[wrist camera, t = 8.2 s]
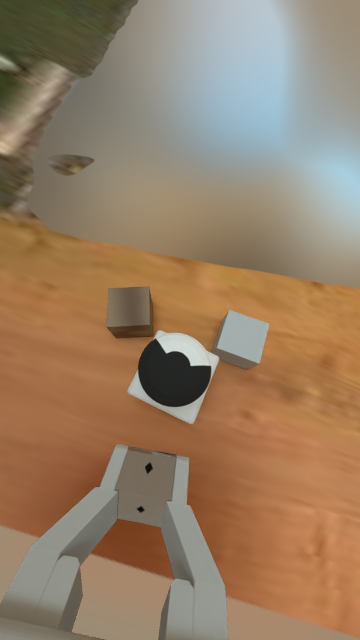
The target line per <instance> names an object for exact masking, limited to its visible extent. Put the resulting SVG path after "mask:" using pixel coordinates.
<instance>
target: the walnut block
mask: <svg viewBox="0 0 360 640" xmlns="http://www.w3.org/2000/svg"><path fill="white" fill-rule="evenodd" d="M106 327H107V328H108V329H109V331H110V332H111V333H112V334H113V335H114V336H115V337H116V338H131V337H150V336H153V308H152V299H151V294H150V289H149V287H130V288H108V303H107V325H106Z"/></svg>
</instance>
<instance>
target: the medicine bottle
mask: <svg viewBox="0 0 360 640" xmlns="http://www.w3.org/2000/svg"><path fill="white" fill-rule="evenodd" d="M218 362H219V357H218V356H217V355H215V354H212V353H210V352H208V351H206V350H205V348H204V347H203V346H202V345H201V343H199V342H198V341H197V340H196V339H194V338H193V337H191V336H189V335H186V334H181V333H166V332H164V331H161V330H159V331H158V332H157V333H156V335H155V337H154V339H153V341H151V342H150V343H149V344H148V345H147V347H146V348H145V349H144V351H143V352H142V355H141V357H140V360H139V365H138V370H137V372H136V374H135V376H134V378H133V380H132V382H131V384H130V386H129V388H128V390H127V391H128V393H129V394H130V395H132V396H134V397H136V398H138V399H140V400H142V401H144V402H146V403H148V404H150V405H152V406H154V407H156V408H158V409H160V410H162V411H164V412H166V413H168V414H170V415H172V416H174V417H176V418H178V419H180V420H182V421H184V422H186V423H189V424H193V423H194V422H195V419H196V417H197V414H198V412H199V409H200V407H201V404H202V402H203V399H204V397H205V394H206V392H207V389H208V387H209V384H210V382H211V379H212V377H213V374H214V372H215V369H216V367H217V364H218Z"/></svg>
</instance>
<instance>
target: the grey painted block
mask: <svg viewBox="0 0 360 640" xmlns="http://www.w3.org/2000/svg"><path fill="white" fill-rule="evenodd" d="M268 328H269V324H268V323H265V322H262V321H260V320H257V319H254V318H251V317H248V316H245V315H242V314H240V313H237V312H234V311H231V310H229V311H228V312H227V314H226V316H225V317H224V319H223V321H222V322H221V325H220V328H219V331H218V334H217V337H216V340H215V343H214V346H213V349H212V352H211V353H212V354H215V355H217V356H218V357H219V360H222V361H225V362H227V363H230V364H233V365H235V366H238V367H241V368H243V369H248V368H251V367H253V366H255V365H257V364H259V363H260V359H261V355H262V351H263V347H264V343H265V339H266V335H267V332H268Z"/></svg>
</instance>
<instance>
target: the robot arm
mask: <svg viewBox="0 0 360 640" xmlns="http://www.w3.org/2000/svg"><path fill="white" fill-rule="evenodd" d="M188 474H189V457H184V456H178V455H177V456H176V455H175V454H169V453H163V452H158V451H151V450H146V449H141V448H136V447H131V446H127V445H121V444H117V445H116V446H115V448H114V451H113V453H112V456H111V458H110V461H109V464H108V466H107V469H106V471H105V474H104V476H103V479H102V482H101V484H100V487H95V488H93V489H92V490H91V491H90V492H89V493H88V494H87V495H86V496H85V497H84V498H83V499H81V500H80V501H79V502H78V503H77V504H76V505H75V506H74V507H73V508H72V509H71V510H70V511H68V512H67V513H66V514H65V515H64V516H63V517H62V518H61V519H60V520H59V521H58V522H56V523H55V524H54V525H53V526H52V527H51V528H50V529H49V530H48V531H47V532H46V533H45V534H43V535H42V536H41V537H40V538H39V539H38V540H37V541H36V542H35V543H34V544H33V545H31V547H30V549H29V551H28V552H27V555H26V556H25V558H24V560H23V562H22V564H21V566H20V568H19V570H18V572H17V573H16V575H15V577H14V579H13V581H12V583H11V585H10V587H9V588H8V590H7V592H6V594H5V596H4V598H3V600H2V602H1V604H0V640H104V639H100V638H95V637H90V636H86V635H81V634H76V633H72V628H73V625H74V622H75V619H76V615H77V612H78V609H79V606H80V603H81V599H82V596H83V595H82V585H81V573H80V566H81V564H82V563H83V562H84V561H85V559H86V558H87V557H88V555H89V554H90V553H91V552H92V551H93V549H94V548H95V547H96V546H97V544H98V543H99V542H100V541H101V539H102V538H103V537H104V536H105V534H106V533H107V532H108V531H109V529H110V528H111V527H112V526H113V524H114V523H115V522H116V521H117V519H122V520H127V521H133V522H139V523H143V524H148V525H152V526H156V527H160V528H161V531H162V535H163V539H164V542H165V546H166V550H167V554H168V557H169V561H170V565H171V568H172V572H173V576H174V581H173V582H172V583H171V586H170V589H169V592H168V595H167V598H166V601H165V604H164V607H163V610H162V614H161V622H160V630H159V639H158V640H228V627H227V609H226V589H225V585H224V583H223V581H222V578H221V576H220V574H219V571H218V569H217V567H216V564H215V562H214V560H213V557H212V555H211V553H210V550H209V548H208V546H207V543H206V541H205V538H204V536H203V534H202V531H201V529H200V527H199V524H198V522H197V520H196V517H195V515H194V513H193V510H192V508H191V506H190V505H187V490H188Z"/></svg>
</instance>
